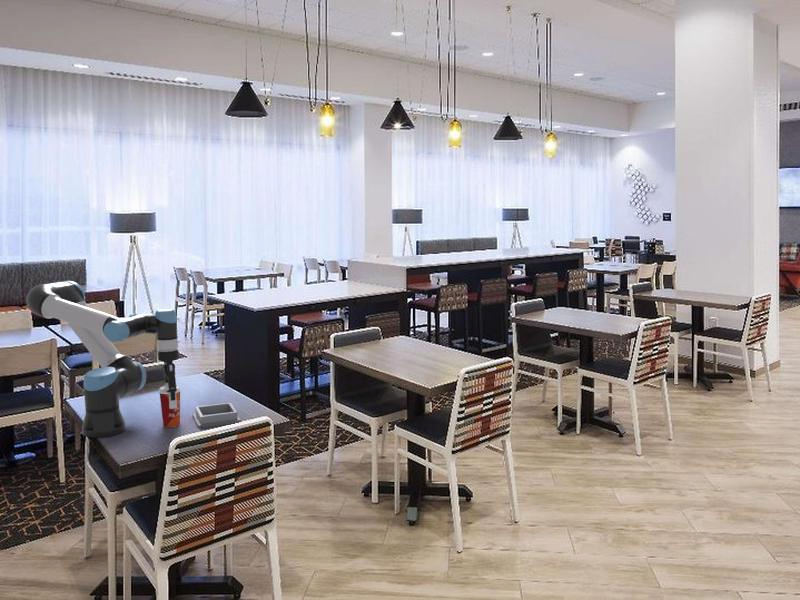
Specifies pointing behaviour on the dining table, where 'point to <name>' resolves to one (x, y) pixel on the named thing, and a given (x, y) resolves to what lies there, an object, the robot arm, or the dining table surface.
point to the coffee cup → (169, 415)
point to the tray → (215, 415)
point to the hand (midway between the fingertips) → (171, 403)
